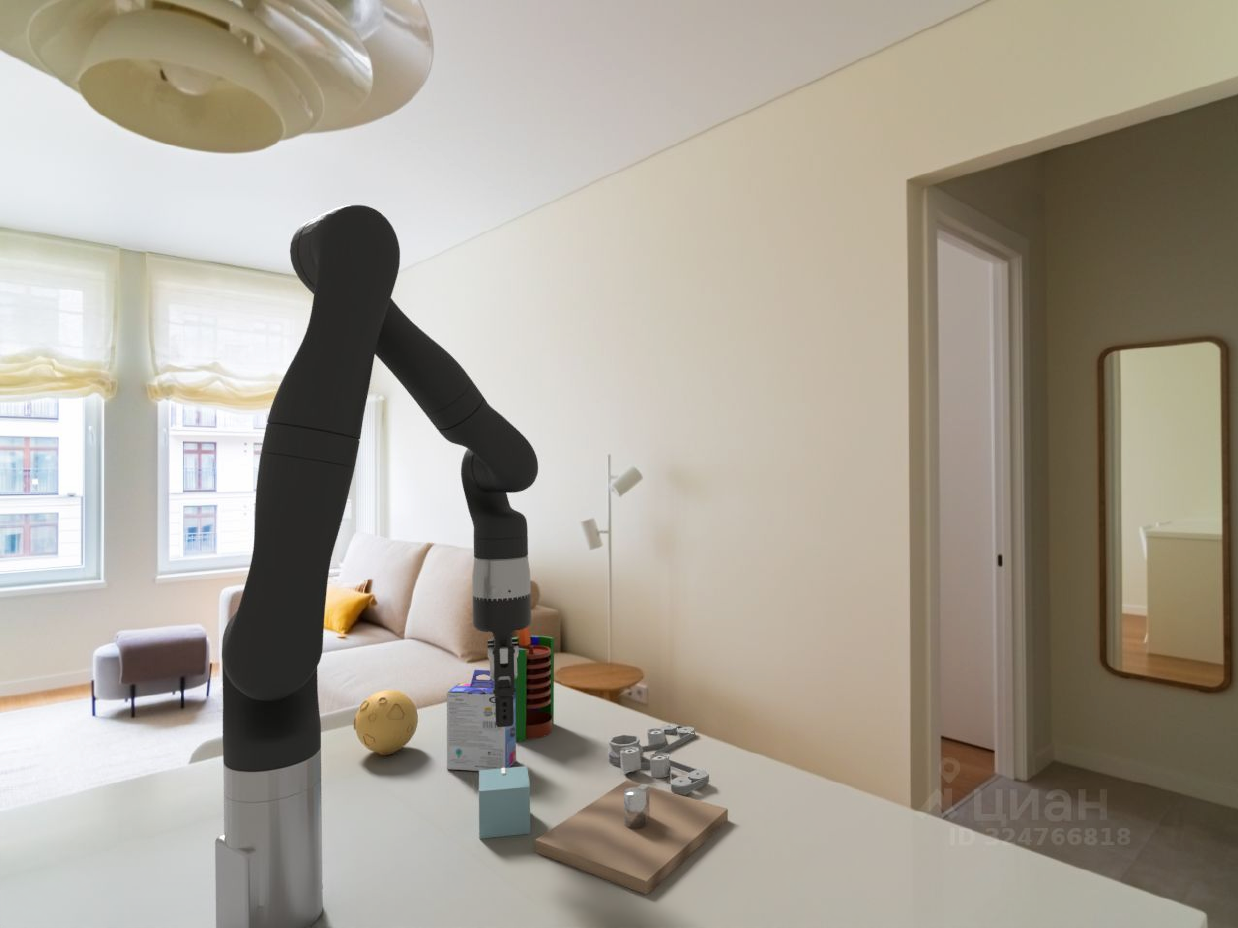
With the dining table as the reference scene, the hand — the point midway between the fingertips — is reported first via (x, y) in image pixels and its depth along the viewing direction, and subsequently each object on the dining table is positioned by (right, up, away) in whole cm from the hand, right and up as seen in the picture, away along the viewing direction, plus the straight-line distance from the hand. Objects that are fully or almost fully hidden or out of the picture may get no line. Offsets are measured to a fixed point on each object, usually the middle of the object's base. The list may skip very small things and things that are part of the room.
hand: (503, 714), depth 96 cm
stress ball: (-23, -15, +24) cm, 37 cm away
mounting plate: (+17, -14, -3) cm, 23 cm away
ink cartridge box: (-6, -15, +19) cm, 25 cm away
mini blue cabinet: (0, -14, 0) cm, 14 cm away
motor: (-1, -15, +34) cm, 37 cm away
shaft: (+17, -13, -3) cm, 22 cm away
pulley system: (+21, -15, +21) cm, 33 cm away
